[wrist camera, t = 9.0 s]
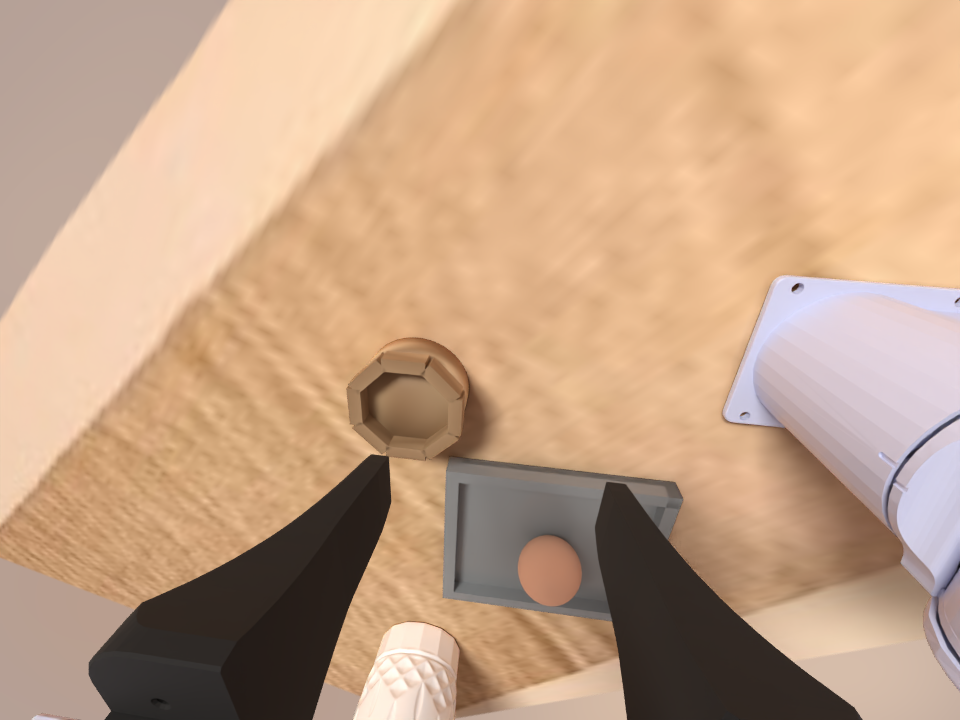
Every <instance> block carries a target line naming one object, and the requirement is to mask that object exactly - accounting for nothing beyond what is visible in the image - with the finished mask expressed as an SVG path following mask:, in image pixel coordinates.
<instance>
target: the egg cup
mask: <svg viewBox="0 0 960 720" xmlns="http://www.w3.org/2000/svg"><path fill="white" fill-rule="evenodd" d="M348 385H349V386H348V387H347V399H348V409H349V418H350V424H352V425H354V426H353V429H354V430H355V431H356V432H357V433H358V434H359V435H361V436H362V437H363V438H364V439H365V440H366V441H367V442H368V443H370V444H371V445H372V446H373V447H374V448H375V449H376V450H377V451H379V452H380V453H381V454H383V453H385V452H386V456H389V457H396V458H405V459H413V460H422V461H426V458H428V459H429V460H430V459H432V458H433V457H435V456H436V455H438V454H439V453H441V452H442V451H444V450H445V449H446V448H448V447H449V446H451V445H452V444H454V443H455V442H457V441H458V440H459V437H460V436H461V434H462V430H463V425H464V411H465V407H466V403H467V399H468V395H469V382H468V377H467V374H466V371H465V369H464V367H463V365H462V364H461V362H460V361H459V360H458V358H457V357H456V356H455V355H454V354H453V353H452V352H451V351H449V350H448V349H447V348H445V347H444V346H442V345H440V344H438V343H436V342H433V341H431V340H427V339H423V338H403V339H398V340H396V341H393V342H391V343H389V344H387V345H385V346H384V347H383V348H382V349H381V350H380V351H379V352H378V353H377V354H376V355H375V356H374V357H373V359H372V360H371V361H370V362H369V364H368V365H367V366H366V367H365V368H364V369H363V370H361V371H360V372H359V373H358V374H357V375H356V376H355V377H354V378H353V379H352V380H351V382H350V383H349V384H348Z"/></svg>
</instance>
